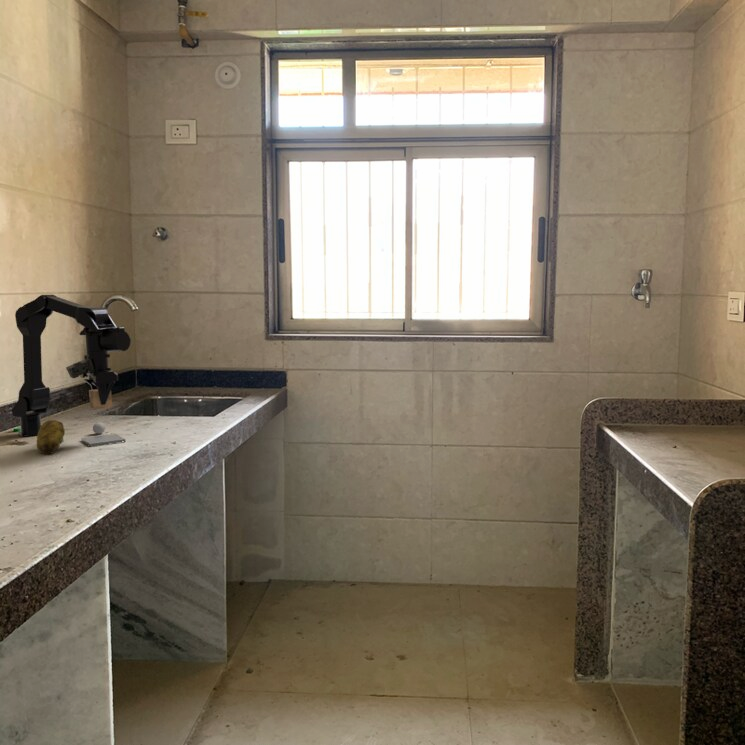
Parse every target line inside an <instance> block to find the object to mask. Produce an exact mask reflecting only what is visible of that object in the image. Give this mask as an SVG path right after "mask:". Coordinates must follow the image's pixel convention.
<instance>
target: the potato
mask: <svg viewBox="0 0 745 745" xmlns="http://www.w3.org/2000/svg"><path fill="white" fill-rule="evenodd" d="M64 436H65V428H64V424H63V422H61V421H59V420H56V419H49V420H46V421H45V422H43V423H41V427H40V429H39V431H38V435H36V448H37V450H38V451H39V452H40V453H42V454H48V455H50V454H53V453H55V452H56V451H58V450H59V448H60V445H61V444H62V443H63V442H62V440H63V438H64Z"/></svg>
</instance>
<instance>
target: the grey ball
mask: <svg viewBox="0 0 745 745" xmlns="http://www.w3.org/2000/svg"><path fill="white" fill-rule="evenodd" d="M105 426H106V425H105V424H104V423H103V422H96V423H94V424H93V426H92V431H93V432H94V433H95V434H97V435H101V434H103V433H104V432H105V430H106V427H105Z"/></svg>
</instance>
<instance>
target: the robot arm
mask: <svg viewBox="0 0 745 745" xmlns="http://www.w3.org/2000/svg"><path fill="white" fill-rule="evenodd" d="M54 312H56V313H58V314H60V315H63V316H67V317H70V318H73V319H74V320H75V321H76V323H78V324H79V325H81V326H82V327H83V329H82V330H81V331H80V332H79V333H78V334H79V335H80V336H84V337H85V349H86V353H85V354H84V356H83V359H82V360H81V361H77V362H75V363H73V364H71V365H68V366H66V368H65V370H66V371H67V373H68V375H69V377H70V378H71V379H76V378H79V376H80V378H82V379H83V381H84V382H86V383H87V384H88V385H89V386H90V388H91V390H95V389H98V394H99V398H100V402H101V405H105V404H106V401H107V399H108V396H109V394H110V391H111V392H112V389H113V386H114V384H115V383H116V382H118V381H119V373H118V372H116V371H115V370H112V368H111V367H109V358H110V357H111V355H110V353H108V352H126V351H128V349H129V348H130V346H131V342H132V340H131V338H130V336H129V333H128V332H126V331H125V329H126V328H125V327H124V326H122V327H121V326H118V327H117V325H116V323H115V322H114V321H113V319H112V317H111V316H110V315H109V312H108V309H107V308H105V307H102V306H91V305H82V304H80V303H77V302H73V301H70V300H68V299H64V298H62V297H59V296H56V295H55V294H41V295H39V296H37V297H36V298H35V299H34V300H31V301H29V302H27V303H25V304H23V305H22V306H19V307H18V308H17V309H16V310H15V313H14V314H15V315H14V316H15V322H16V328H17V329H18V331H19V332H20V333H21V335H22V352H23V384H22V385H21V387H20V389H19V391H18V398H17V402H16V403H15V405H14V406H13V407H12V409H11V413H12V415H13V416H12V417H15V418H18V417H19V420H20V421H19V422H20V431H19V432H18V435H19V436H21V437H30V436H37V435H38V431H39V429H40V427H41V425H42V422H41V414H45V413H47V410H48V406H49V404H50V401H51V396H50V393H51V392H50V391H51V390H50V387H48V386H47V387H46V385H45V384H44V382H43V370H42V367H43V366H42V364H43V363H42V341H41V340H42V339H41V338H42V334H43V332H44V330H45V329H46V327H47V319H48V318H49V317H50V316H51V315H52V314H53V313H54Z"/></svg>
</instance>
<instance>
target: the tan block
mask: <svg viewBox="0 0 745 745" xmlns="http://www.w3.org/2000/svg"><path fill="white" fill-rule="evenodd" d="M88 396H89V407H90V408H91V409H93V410H98V409H106V408H113V399H112V398H113V397H112V390H111V391H110V394H109V396H108V399H107V401H106V404H105V405H101V402H100V398H99V394H98V389H95V390H92V389H89V390H88Z"/></svg>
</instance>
